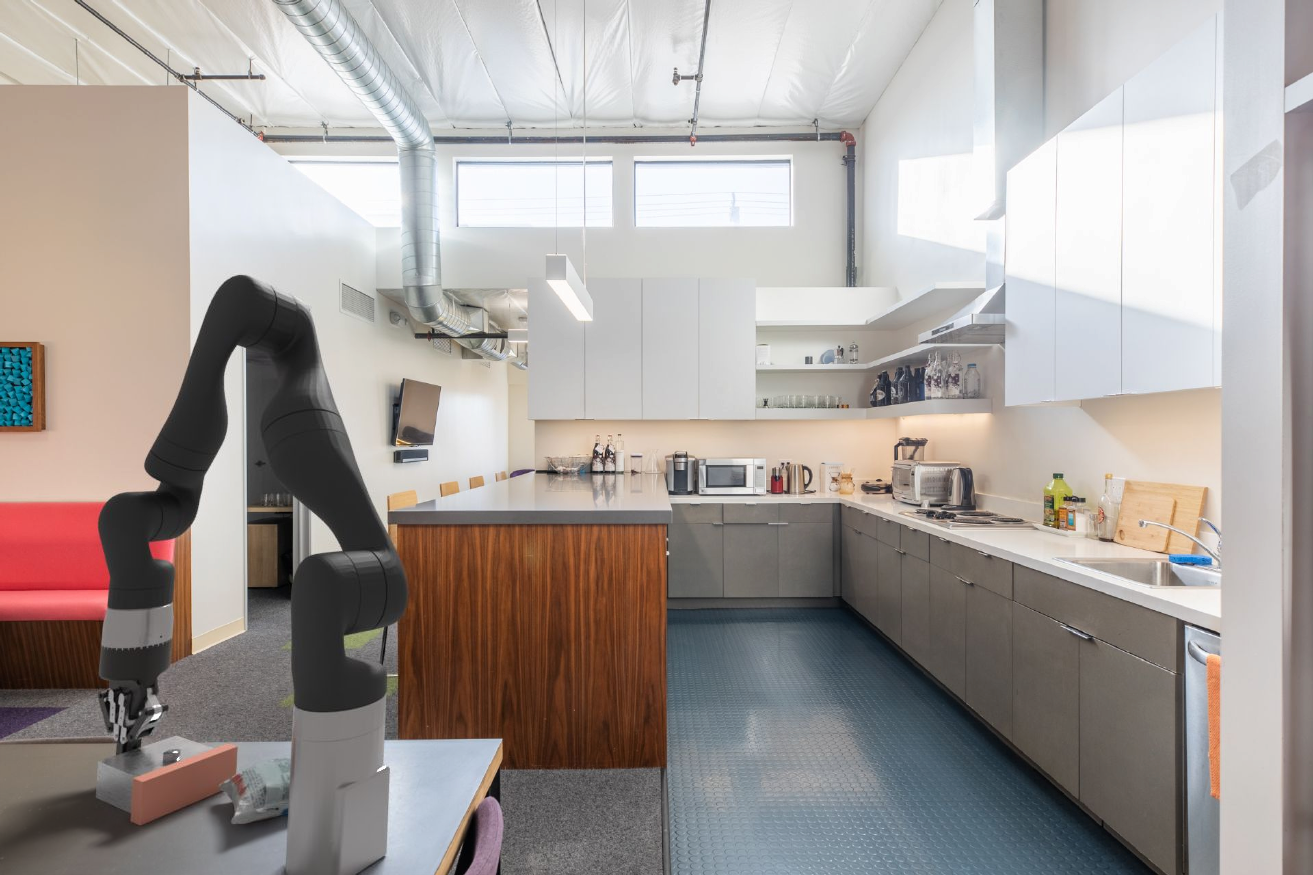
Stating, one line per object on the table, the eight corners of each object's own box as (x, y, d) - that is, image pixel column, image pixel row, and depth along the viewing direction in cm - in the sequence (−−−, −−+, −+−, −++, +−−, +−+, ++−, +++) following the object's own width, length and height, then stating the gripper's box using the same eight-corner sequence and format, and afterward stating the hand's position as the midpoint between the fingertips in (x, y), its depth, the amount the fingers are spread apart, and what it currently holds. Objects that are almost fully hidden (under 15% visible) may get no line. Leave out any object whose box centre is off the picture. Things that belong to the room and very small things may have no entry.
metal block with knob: (218, 784, 85) (220, 742, 85) (139, 817, 77) (142, 770, 77) (174, 768, 89) (176, 728, 89) (95, 797, 81) (98, 753, 81)
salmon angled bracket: (235, 784, 85) (237, 746, 85) (139, 825, 75) (142, 781, 75) (181, 764, 90) (183, 728, 90) (85, 800, 80) (87, 759, 81)
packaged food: (229, 843, 72) (233, 798, 72) (217, 800, 81) (220, 760, 82) (315, 818, 78) (317, 776, 78) (294, 781, 87) (297, 744, 87)
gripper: (196, 639, 87) (186, 768, 87) (142, 624, 93) (132, 745, 92) (132, 653, 81) (120, 793, 80) (78, 635, 86) (66, 766, 86)
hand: (126, 767), depth 86 cm, fingers closed
